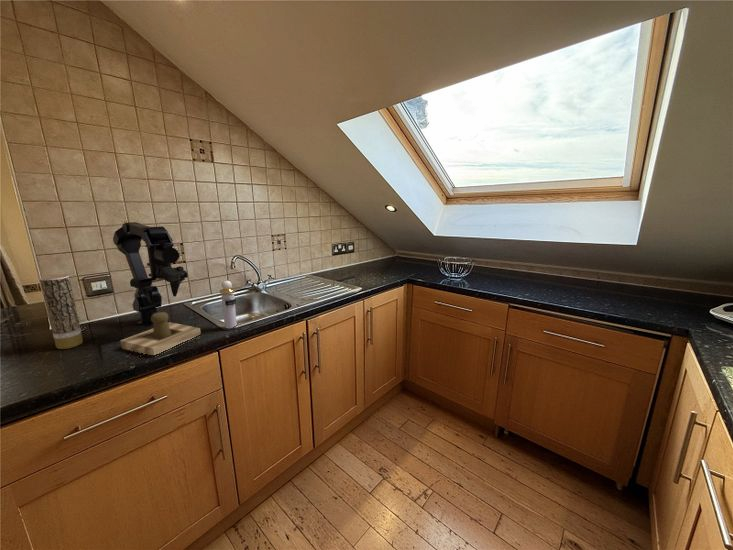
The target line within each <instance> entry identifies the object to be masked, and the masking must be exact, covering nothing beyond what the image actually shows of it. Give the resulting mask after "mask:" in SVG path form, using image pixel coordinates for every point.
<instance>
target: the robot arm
mask: <svg viewBox="0 0 733 550" xmlns="http://www.w3.org/2000/svg"><path fill="white" fill-rule="evenodd" d="M112 241H113V244H114V245H115V246H116V249H117V250H118V251H119V252H120V253H122V254H123V255H124V256H125V258H126V261H127V265H128V266H129V269H130V270H129V271H130V273H131V274H132V278H131V279H130V281H129V286H130V287H132V288H135V289H136V290H135V293H134V294H133V295H134V300H133V303H132V304H131V306H132V309H133V311H135V312H137V313H139V317H140V319H139V320H140V321H137V322H136V324H138V325H143V326H150V325H154V323H153V322H152V321H151V316H152V315H153V314H155V313H159V312H158V308H161V307H162V301H163V300H162V298H163V297H162V294H161V293H160V292H159V289H158V287H157V286H156V285H153V283H156V282H160V281H164V280H165V281H166V282H167V283H169V285H170V290H171V293H172V296H173V297H177V294H178V292H179V287H180V285H181V283H182V282H183V281H185V280H186V278H189V275H188V272H187V270H184V269H185V267H183V266H181V265H179V266H176V267H172V264H175V263H176V262H178V261H179V259H180V252H179V251H178V250H177V249H176V248H174V247H173V245H174V240H173V238H172V237H171V235H170V234H169V232H168V230H167V229H166V228H165V227H164V226H162V225H161V226H149V225H145V224H142V223H140V222H135V221H133V222H123V223H122V226H121V227H120V228H118V229H116V230H115V232H114V234H113V237H112ZM142 241H143V242H144V243H145V248H146V251H147V256H148V262H147V263H146V265H147V267H149V270H150V273H148V274H147V271H146V268H145V265H144V262H143V260H142V256H141V254H140V248H141V247H142Z"/></svg>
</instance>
